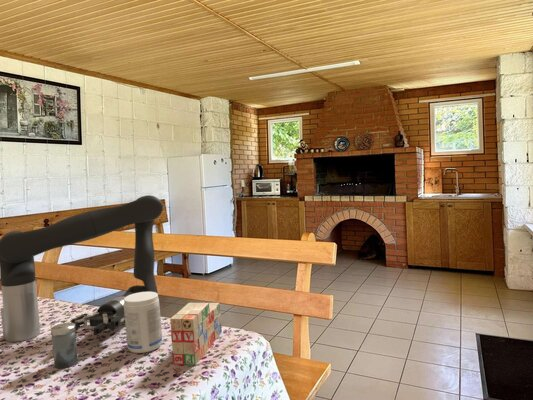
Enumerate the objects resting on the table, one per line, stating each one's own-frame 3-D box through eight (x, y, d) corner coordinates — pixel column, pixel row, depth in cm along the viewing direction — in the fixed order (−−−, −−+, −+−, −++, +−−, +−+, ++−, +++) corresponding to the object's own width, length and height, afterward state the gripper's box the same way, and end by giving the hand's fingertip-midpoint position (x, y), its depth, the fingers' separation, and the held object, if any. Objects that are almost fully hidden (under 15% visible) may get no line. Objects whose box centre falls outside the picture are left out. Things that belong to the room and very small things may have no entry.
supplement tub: (159, 337, 118) (155, 289, 117) (165, 349, 109) (162, 297, 108) (125, 344, 114) (121, 294, 113) (129, 357, 105) (125, 303, 104)
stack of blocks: (202, 331, 121) (200, 292, 120) (222, 332, 119) (219, 292, 119) (172, 365, 100) (169, 317, 99) (196, 366, 99) (193, 318, 98)
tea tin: (48, 368, 101) (45, 330, 101) (64, 358, 107) (61, 322, 106) (67, 369, 100) (64, 331, 99) (82, 359, 105) (80, 322, 105)
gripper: (94, 299, 126) (58, 317, 111) (134, 300, 123) (103, 318, 108) (96, 322, 127) (60, 343, 111) (136, 323, 124) (105, 345, 108)
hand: (81, 331), depth 109 cm, fingers open, 8 cm apart
